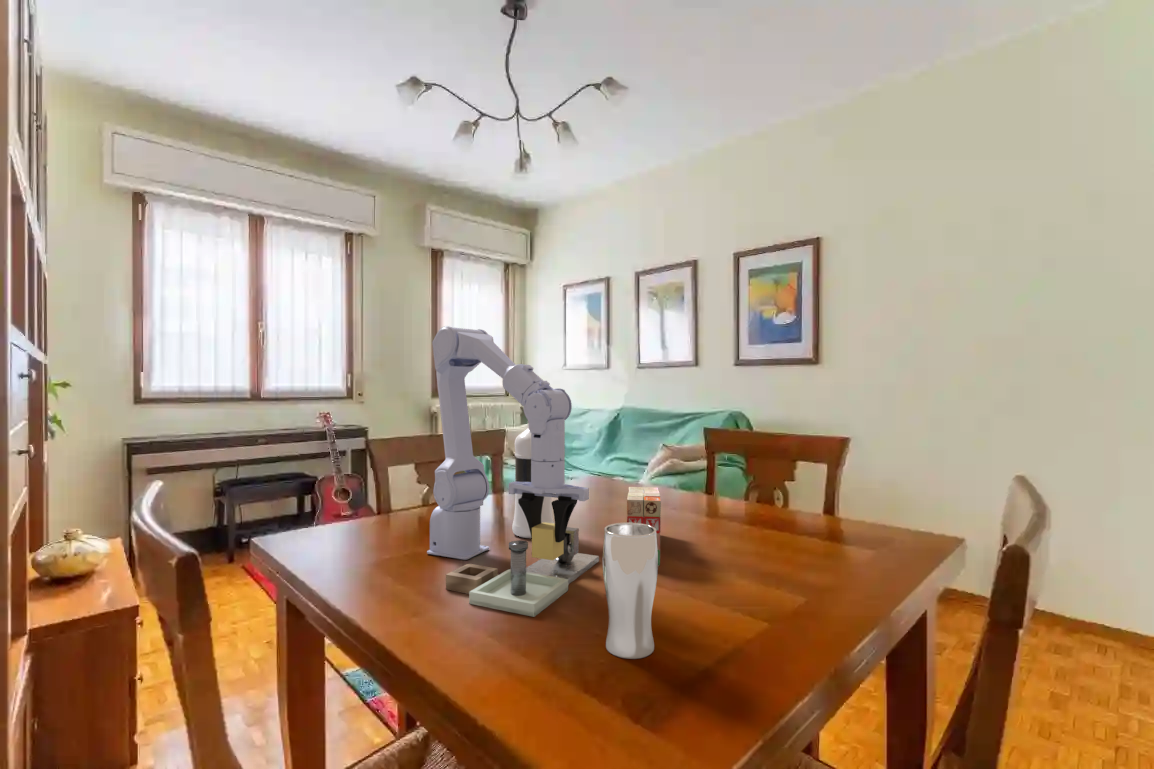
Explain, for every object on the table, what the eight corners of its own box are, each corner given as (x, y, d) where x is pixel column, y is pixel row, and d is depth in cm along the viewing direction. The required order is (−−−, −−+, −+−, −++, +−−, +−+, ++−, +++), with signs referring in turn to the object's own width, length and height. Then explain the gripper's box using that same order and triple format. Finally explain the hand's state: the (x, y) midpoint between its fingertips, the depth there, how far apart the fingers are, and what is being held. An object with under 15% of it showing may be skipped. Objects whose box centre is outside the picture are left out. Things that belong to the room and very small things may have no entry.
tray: (469, 603, 84) (469, 591, 84) (508, 579, 94) (508, 569, 94) (534, 616, 79) (534, 604, 79) (568, 590, 89) (568, 579, 89)
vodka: (524, 541, 116) (525, 399, 116) (505, 532, 124) (505, 398, 124) (562, 535, 121) (562, 398, 121) (541, 526, 129) (541, 397, 129)
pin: (505, 594, 86) (505, 544, 86) (514, 588, 88) (514, 539, 88) (522, 598, 84) (522, 546, 84) (531, 591, 87) (531, 541, 87)
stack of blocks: (629, 533, 123) (629, 478, 123) (657, 534, 123) (657, 479, 123) (626, 565, 102) (626, 498, 102) (660, 566, 101) (660, 499, 101)
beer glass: (599, 635, 73) (599, 522, 73) (651, 633, 74) (651, 521, 74) (606, 662, 66) (606, 537, 66) (663, 660, 67) (664, 535, 67)
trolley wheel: (515, 579, 94) (515, 538, 94) (556, 555, 107) (556, 518, 107) (563, 588, 90) (563, 545, 90) (598, 561, 104) (599, 524, 104)
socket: (445, 589, 90) (445, 574, 90) (468, 577, 95) (468, 563, 95) (476, 595, 87) (476, 580, 87) (497, 582, 92) (497, 568, 92)
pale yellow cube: (531, 557, 94) (531, 527, 94) (543, 550, 97) (543, 522, 97) (552, 560, 92) (552, 530, 92) (563, 553, 96) (563, 524, 96)
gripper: (499, 460, 94) (499, 540, 94) (576, 465, 88) (576, 550, 88) (520, 455, 100) (520, 530, 100) (593, 459, 94) (593, 539, 94)
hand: (547, 539), depth 95 cm, fingers closed on pale yellow cube, 4 cm apart
